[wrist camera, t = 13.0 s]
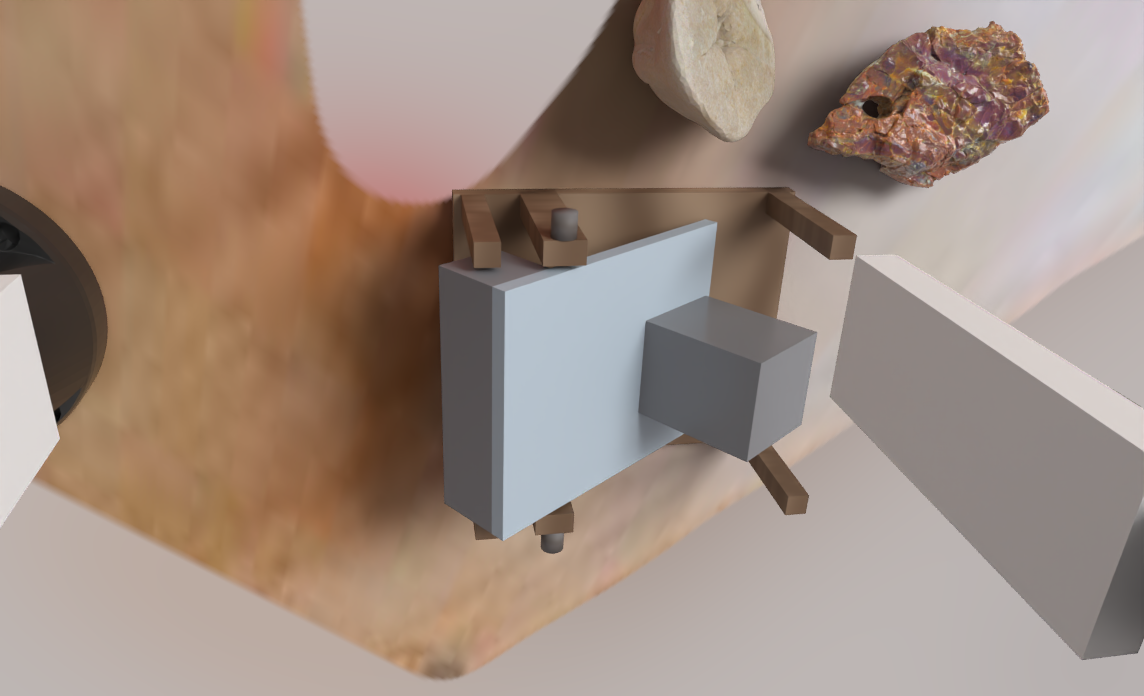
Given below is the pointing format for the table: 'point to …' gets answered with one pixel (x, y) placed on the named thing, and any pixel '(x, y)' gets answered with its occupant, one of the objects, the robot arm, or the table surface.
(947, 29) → the mineral specimen
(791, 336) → the block
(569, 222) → the frame
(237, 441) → the table surface
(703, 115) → the stone
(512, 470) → the trapdoor
